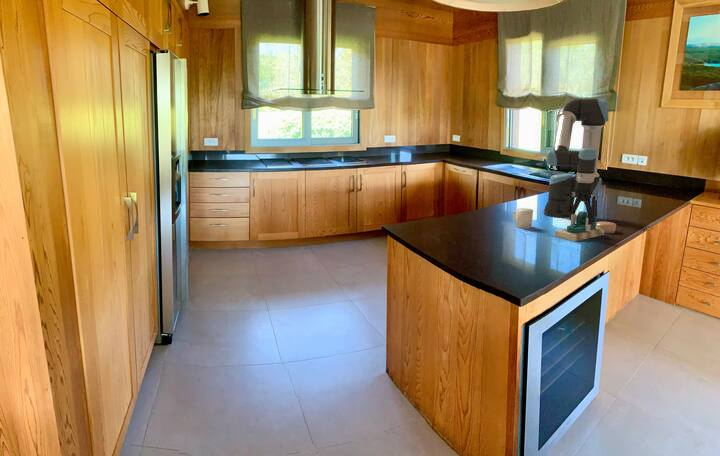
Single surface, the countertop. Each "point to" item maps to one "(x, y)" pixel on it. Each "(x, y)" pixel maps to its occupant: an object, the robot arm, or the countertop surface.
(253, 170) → the countertop surface
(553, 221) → the countertop surface
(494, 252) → the countertop surface
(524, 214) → the mug
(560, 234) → the tray
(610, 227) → the peach flattened dome
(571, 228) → the bracket
